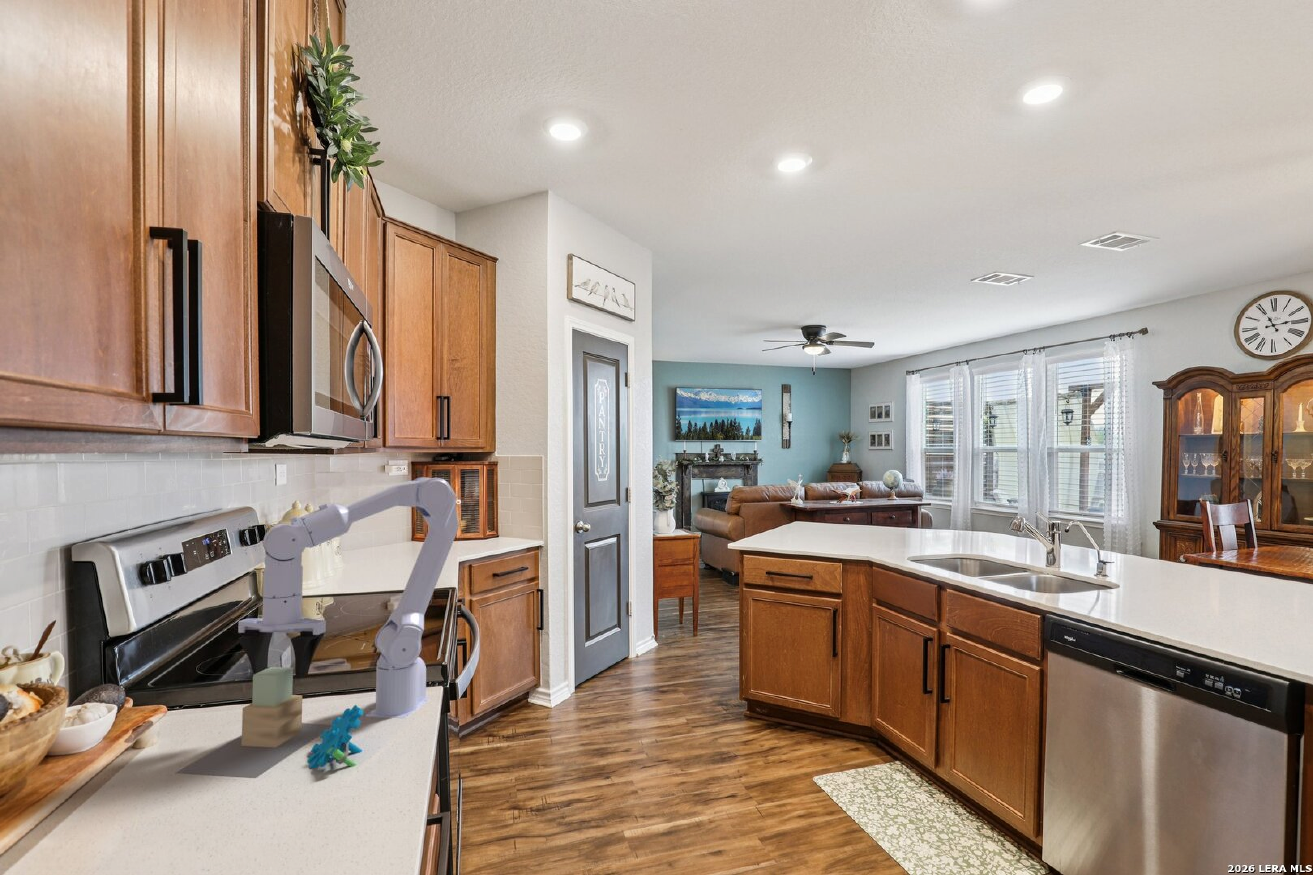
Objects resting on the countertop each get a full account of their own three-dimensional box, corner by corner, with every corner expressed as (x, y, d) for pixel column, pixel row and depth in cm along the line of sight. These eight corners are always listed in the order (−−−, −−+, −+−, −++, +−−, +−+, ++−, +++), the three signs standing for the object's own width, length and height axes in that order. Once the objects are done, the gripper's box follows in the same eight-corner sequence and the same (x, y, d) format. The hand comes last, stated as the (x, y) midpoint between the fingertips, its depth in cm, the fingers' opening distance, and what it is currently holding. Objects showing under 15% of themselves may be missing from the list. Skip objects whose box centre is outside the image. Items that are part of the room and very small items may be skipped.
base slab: (268, 729, 104) (269, 711, 104) (301, 731, 103) (301, 713, 103) (241, 745, 98) (242, 726, 98) (275, 747, 97) (276, 728, 97)
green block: (270, 696, 103) (271, 666, 103) (292, 697, 102) (293, 667, 103) (252, 705, 99) (253, 674, 99) (274, 706, 98) (275, 675, 99)
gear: (306, 741, 97) (356, 691, 100) (335, 760, 99) (384, 711, 102) (300, 783, 87) (355, 727, 90) (332, 803, 89) (385, 748, 92)
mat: (265, 724, 107) (265, 721, 107) (334, 728, 106) (334, 724, 106) (174, 776, 89) (174, 772, 89) (255, 781, 88) (256, 777, 88)
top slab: (269, 711, 104) (270, 693, 104) (301, 713, 103) (302, 695, 103) (242, 726, 98) (242, 707, 98) (276, 728, 97) (276, 709, 97)
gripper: (224, 599, 100) (222, 682, 99) (307, 600, 98) (305, 685, 98) (257, 590, 107) (255, 668, 106) (334, 591, 105) (332, 670, 105)
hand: (281, 675), depth 102 cm, fingers open, 7 cm apart
